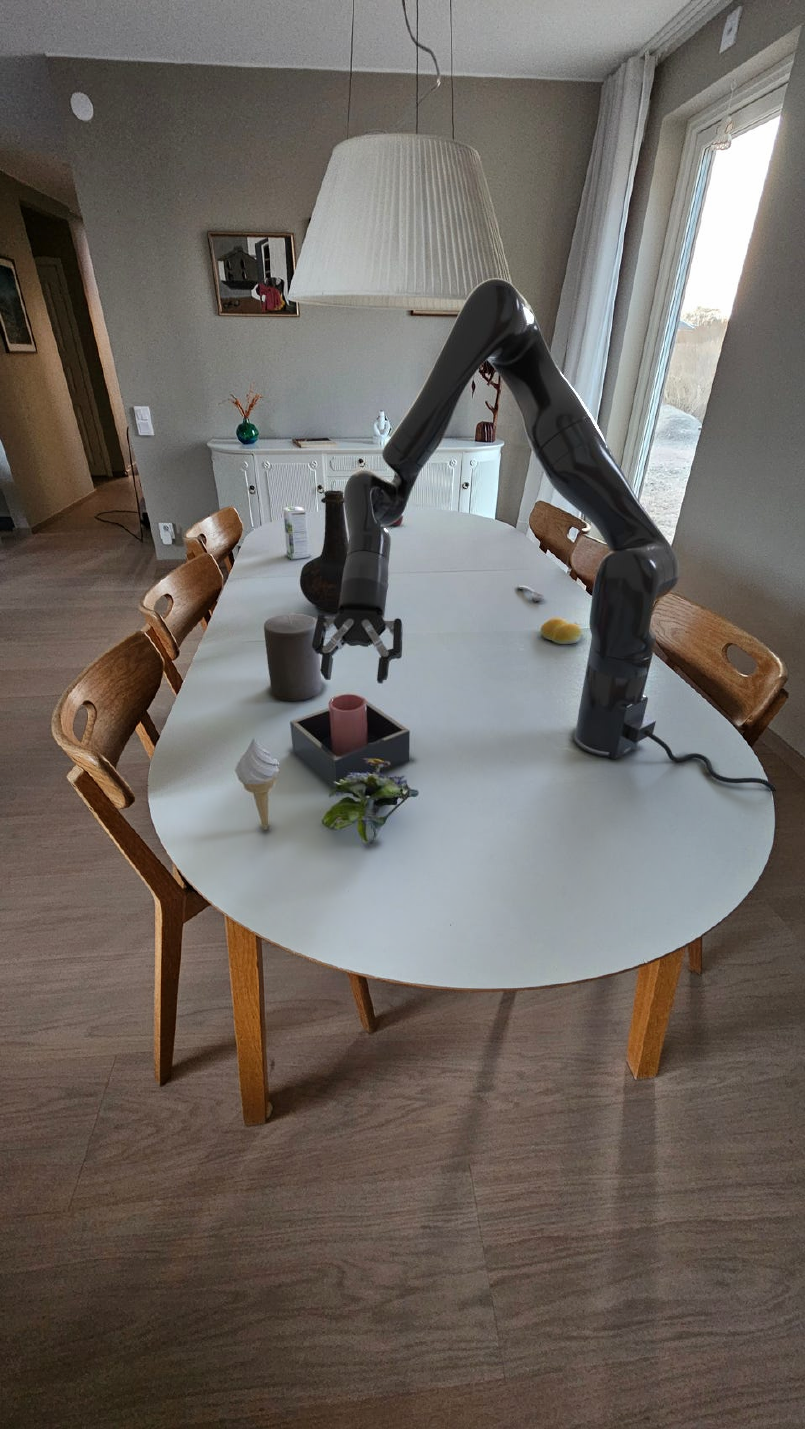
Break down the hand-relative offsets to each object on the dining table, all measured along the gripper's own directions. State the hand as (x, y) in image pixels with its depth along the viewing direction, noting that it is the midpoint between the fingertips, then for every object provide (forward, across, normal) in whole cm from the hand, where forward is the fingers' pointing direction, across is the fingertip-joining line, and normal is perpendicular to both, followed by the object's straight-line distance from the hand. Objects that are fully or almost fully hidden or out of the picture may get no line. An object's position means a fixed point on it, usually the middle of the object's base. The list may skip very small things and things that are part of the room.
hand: (353, 680), depth 98 cm
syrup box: (-64, -39, +80) cm, 109 cm away
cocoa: (-94, -14, +110) cm, 145 cm away
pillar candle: (-3, -15, +20) cm, 25 cm away
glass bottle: (-35, -17, +51) cm, 64 cm away
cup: (+11, 0, +5) cm, 12 cm away
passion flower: (+23, +6, -6) cm, 24 cm away
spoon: (-45, +32, +62) cm, 83 cm away
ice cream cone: (+25, -8, -8) cm, 27 cm away
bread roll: (-26, +38, +43) cm, 63 cm away
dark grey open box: (+11, 0, +5) cm, 12 cm away
